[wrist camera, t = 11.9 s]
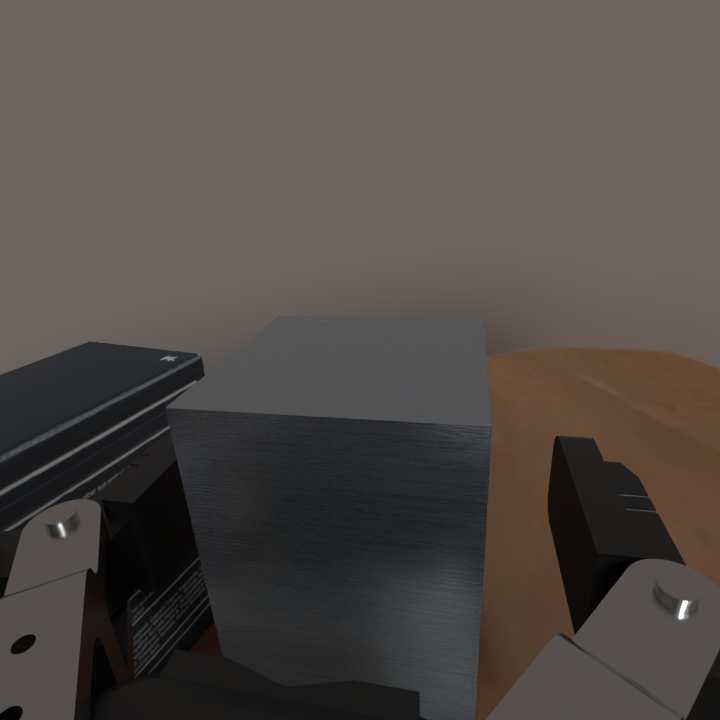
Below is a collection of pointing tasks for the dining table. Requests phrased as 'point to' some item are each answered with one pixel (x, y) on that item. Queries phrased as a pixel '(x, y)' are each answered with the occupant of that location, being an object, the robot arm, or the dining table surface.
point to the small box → (100, 461)
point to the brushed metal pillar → (345, 502)
